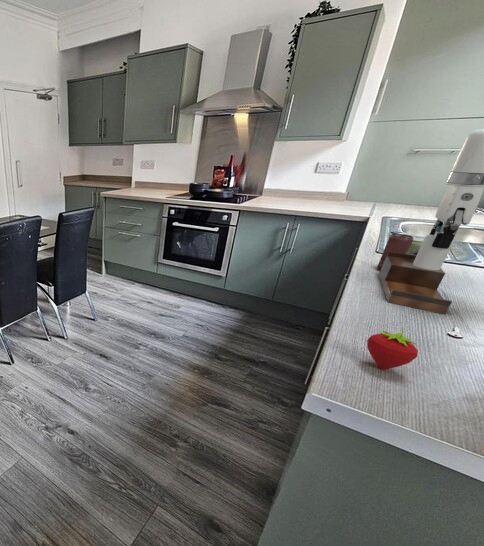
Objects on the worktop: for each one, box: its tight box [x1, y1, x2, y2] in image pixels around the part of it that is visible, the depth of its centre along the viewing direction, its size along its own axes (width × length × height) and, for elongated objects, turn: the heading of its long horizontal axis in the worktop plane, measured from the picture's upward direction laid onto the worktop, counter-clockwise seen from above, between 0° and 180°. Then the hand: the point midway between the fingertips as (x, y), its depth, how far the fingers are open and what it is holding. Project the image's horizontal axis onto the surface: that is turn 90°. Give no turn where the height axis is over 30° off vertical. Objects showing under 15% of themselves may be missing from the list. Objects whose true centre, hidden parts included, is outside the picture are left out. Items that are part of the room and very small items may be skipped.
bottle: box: [413, 226, 456, 270], centre depth 89 cm, size 6×6×12 cm
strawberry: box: [366, 327, 419, 371], centre depth 64 cm, size 6×8×10 cm
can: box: [376, 232, 414, 272], centre depth 115 cm, size 6×6×14 cm
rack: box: [378, 251, 453, 315], centre depth 98 cm, size 12×26×10 cm, turn 142°
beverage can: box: [407, 237, 425, 255], centre depth 117 cm, size 6×7×12 cm
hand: (437, 244), depth 89 cm, fingers closed on bottle, 5 cm apart
